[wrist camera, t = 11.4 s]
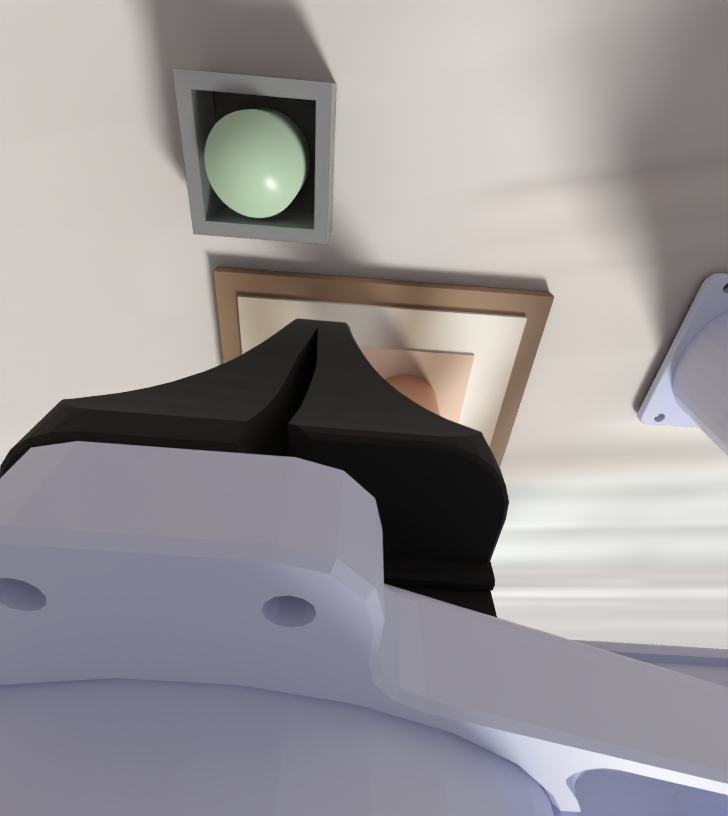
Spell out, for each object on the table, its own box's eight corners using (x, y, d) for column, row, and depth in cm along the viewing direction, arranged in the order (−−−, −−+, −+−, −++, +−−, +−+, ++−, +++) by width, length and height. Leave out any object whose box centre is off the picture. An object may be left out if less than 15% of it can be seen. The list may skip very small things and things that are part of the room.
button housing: (336, 84, 17) (332, 83, 15) (331, 228, 19) (327, 244, 17) (196, 71, 16) (172, 68, 14) (212, 219, 19) (193, 233, 17)
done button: (310, 112, 17) (301, 114, 14) (309, 205, 19) (301, 221, 16) (222, 104, 17) (198, 105, 14) (229, 199, 18) (210, 214, 16)
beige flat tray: (549, 292, 21) (556, 299, 20) (460, 577, 33) (462, 588, 32) (217, 266, 20) (211, 273, 20) (248, 566, 32) (245, 577, 31)
